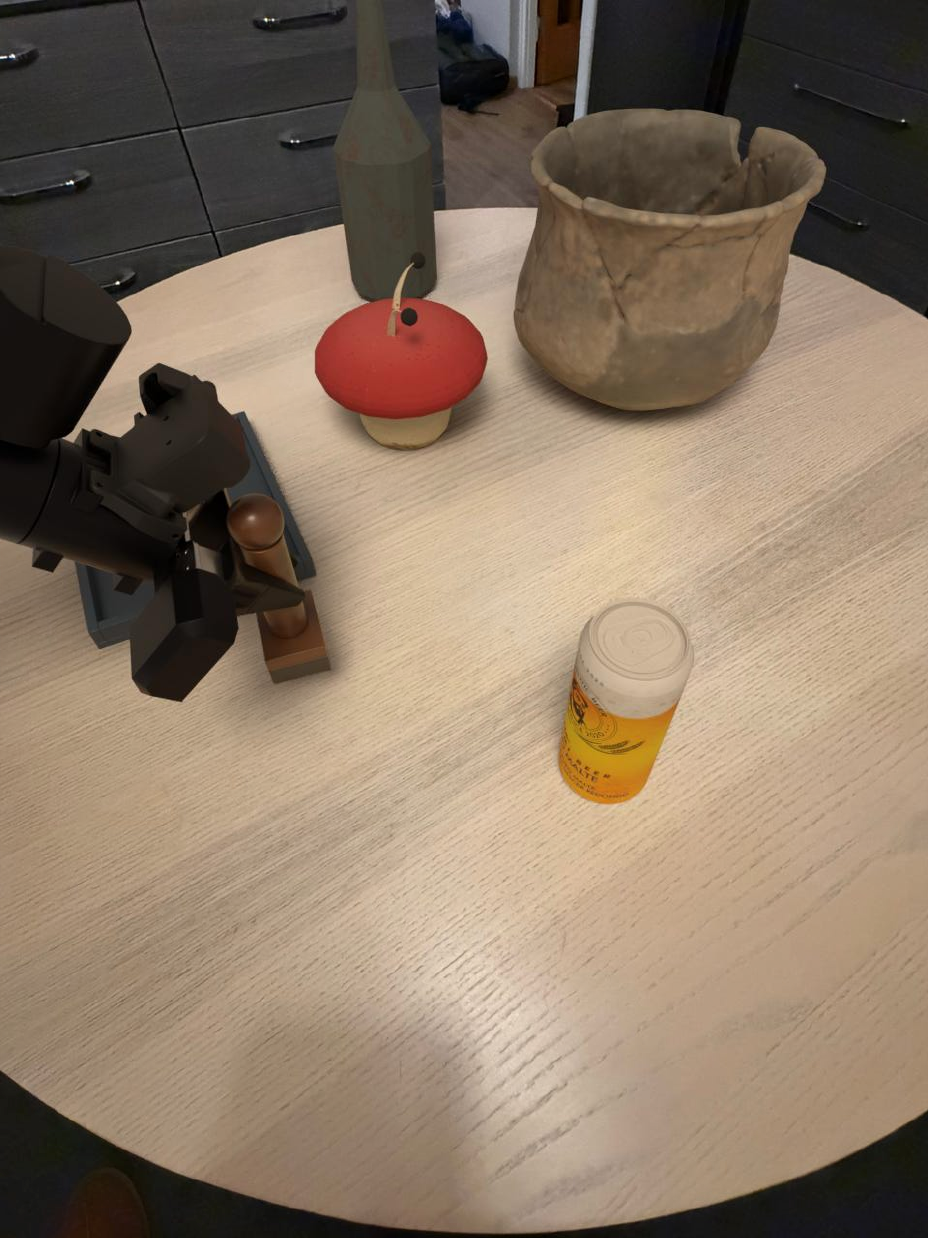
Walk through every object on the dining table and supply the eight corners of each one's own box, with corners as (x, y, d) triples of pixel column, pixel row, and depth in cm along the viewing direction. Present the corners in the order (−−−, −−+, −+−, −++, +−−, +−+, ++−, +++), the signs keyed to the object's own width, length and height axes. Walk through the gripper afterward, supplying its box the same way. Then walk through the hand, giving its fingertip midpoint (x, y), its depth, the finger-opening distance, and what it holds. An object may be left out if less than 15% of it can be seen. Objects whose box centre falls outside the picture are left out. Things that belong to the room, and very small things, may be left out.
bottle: (436, 264, 94) (421, -52, 70) (438, 305, 88) (423, -26, 64) (354, 267, 94) (311, -48, 70) (350, 309, 88) (303, -21, 64)
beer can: (542, 746, 52) (561, 612, 40) (618, 716, 53) (658, 577, 41) (584, 823, 48) (619, 701, 36) (665, 788, 50) (723, 660, 38)
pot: (721, 316, 85) (781, 98, 68) (781, 448, 71) (876, 213, 54) (504, 322, 85) (510, 105, 68) (519, 456, 71) (532, 223, 54)
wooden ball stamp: (331, 670, 51) (292, 524, 40) (273, 685, 51) (217, 541, 40) (318, 614, 54) (277, 464, 43) (263, 627, 54) (208, 478, 43)
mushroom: (485, 481, 69) (487, 332, 57) (315, 479, 69) (282, 331, 57) (488, 380, 78) (489, 235, 66) (339, 379, 79) (314, 234, 67)
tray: (99, 649, 58) (87, 633, 56) (65, 480, 70) (55, 462, 68) (316, 575, 62) (312, 558, 60) (249, 428, 74) (244, 410, 72)
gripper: (115, 503, 28) (417, 614, 39) (107, 268, 39) (343, 405, 50) (-2, 674, 33) (295, 731, 43) (20, 422, 44) (252, 517, 54)
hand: (298, 582), depth 48 cm, fingers closed on wooden ball stamp, 2 cm apart
